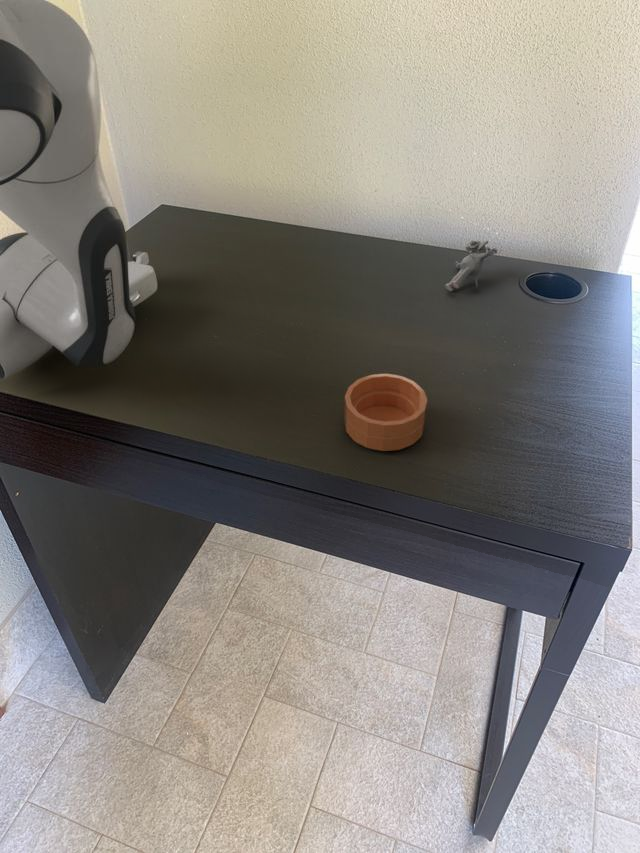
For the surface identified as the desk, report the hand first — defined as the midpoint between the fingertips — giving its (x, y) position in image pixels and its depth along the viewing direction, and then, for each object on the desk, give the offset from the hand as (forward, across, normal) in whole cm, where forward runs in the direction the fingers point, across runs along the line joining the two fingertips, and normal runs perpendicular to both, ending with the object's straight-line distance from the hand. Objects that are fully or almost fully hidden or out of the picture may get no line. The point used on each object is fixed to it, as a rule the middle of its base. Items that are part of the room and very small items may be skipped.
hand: (117, 251), depth 103 cm
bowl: (-18, -48, +6) cm, 52 cm away
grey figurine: (+19, -50, +6) cm, 54 cm away
